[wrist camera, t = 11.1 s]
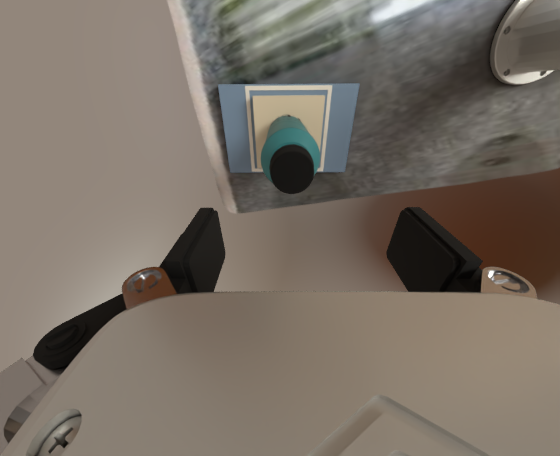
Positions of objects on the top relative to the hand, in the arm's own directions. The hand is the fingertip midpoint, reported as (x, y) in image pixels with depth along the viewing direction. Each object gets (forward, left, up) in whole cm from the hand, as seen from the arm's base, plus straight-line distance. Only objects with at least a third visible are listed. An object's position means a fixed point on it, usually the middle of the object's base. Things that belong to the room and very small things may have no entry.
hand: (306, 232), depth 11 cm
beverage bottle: (0, 0, -29) cm, 29 cm away
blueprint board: (0, 0, -32) cm, 32 cm away
